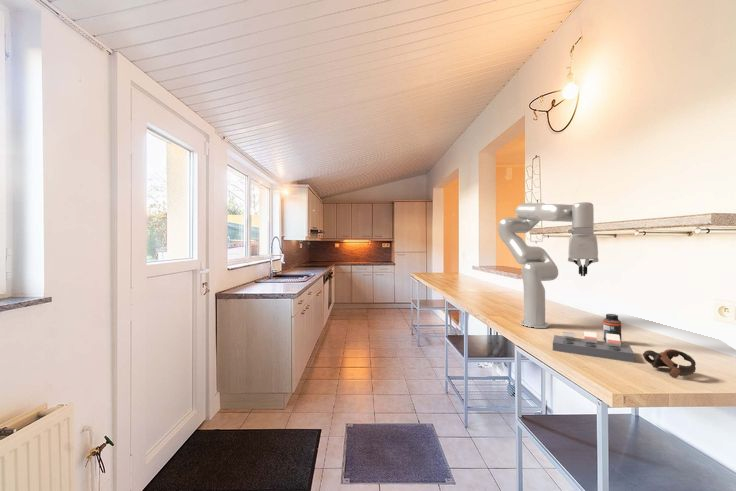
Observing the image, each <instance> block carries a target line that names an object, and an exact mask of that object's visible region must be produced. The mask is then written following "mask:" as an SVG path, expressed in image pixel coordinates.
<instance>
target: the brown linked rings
mask: <svg viewBox="0 0 736 491" xmlns="http://www.w3.org/2000/svg"><path fill="white" fill-rule="evenodd" d="M642 356H643V358H644V360H645V361H646V362H647V363H649V364H650V365H651V366H652V367H653V368H654V369H658V368H662V367H665V368H669V369H671V370H670V372H669V373H668V374H669V376H670V377H672V378H675V379H676V378H679V376H680V377H682V376H689V375H693V374H694V373H695V372H696V370H697V368H696V361H695V359H694V358H692V356H691V355H689V354H687V353H686V352H683V351H680V350H677V349H671V348H668V349H665V350H664V351H662V352H656V351H654V350H651V349H650V350H649V349H648V350H645V351H644V352H643V353H642ZM679 356H681V357H682V359H683V360H684V361H687V362H689V363H690V365H681V364H678V363H676V362H674V361H673V360H672V359H673V358H678V357H679ZM651 357H652V358H653V359H652V358H651Z"/></svg>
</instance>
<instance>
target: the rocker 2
mask: <svg viewBox="0 0 736 491" xmlns="http://www.w3.org/2000/svg"><path fill="white" fill-rule="evenodd" d="M606 341H607V345H610V346H617V347H621V344H622V341H620V336H619V335H616V334H607V333H606Z"/></svg>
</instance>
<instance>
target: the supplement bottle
mask: <svg viewBox="0 0 736 491" xmlns="http://www.w3.org/2000/svg"><path fill="white" fill-rule="evenodd" d="M602 323H603V325H602V326H603V329H602V331H603V341H605V342H607V341H606V333H607V334H616V335H619V336H620V341H621V342H623V341H622V340H623V338H622V322H621V320H619V315H618V314H616V313H615V314H614V313H606V314H605V318H604V319H603V322H602Z"/></svg>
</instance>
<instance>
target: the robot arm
mask: <svg viewBox="0 0 736 491" xmlns="http://www.w3.org/2000/svg"><path fill="white" fill-rule="evenodd" d="M594 210H595V209H594V203H592V202H583V201H582V202H577V203H573V204H563V203H562V204H561V203H560V204H559V203H550V204H549V203H544V202H542V203H541V202H537V203H536V202H535V203H531V202H530V203H529V202H528V203H527V202H525V203H520V204H519V205H517V207H516V208H515V210H514V213H515V216H516V217H510V216H509V217H505V218H502V219H501V220H500V221H498V224H497V232H498V236H499V237H500V239H501V241H502V242H503V243H504V245H506V247H507V249H508V250H509V252H510V253H511V254H512V256H513V258H514V259H515V260H516V262H517V263H518V264H520V265H522V267H521V269H520V270H521V277H522V282H523V320H522V321H520V325H521V326H523V325H524V326H523V327H526V326H528V327H527V328H531V327H534V328H533V329H548V328H549V327H550V324H549V323H548V322H546V288H545V285H544V284H543V283H542V282H548V281H549V282H550V281H554V280H556V279H557V278H558V276H559V269H558V266H557V265H556V263H555V262H554V261H553V259H552V257H550V255H549V254H548V252H547V251H546V250H545V249H544V248H542V247H540V246H531V245H527V243H526V242H525V240H523V238H522V237H521V236H519V235H518V234H527V233H528V232H531V231H532V230H533V228H534V227H536V225H538V224H539V223H540V222H543V221H544V222H561V223H562V222H564V223H565V222H567V223H568V222H569V223H571V229H568V230H567V232H568V234H571V235H570V236H569V239H568V250H567V252H568V259H567V261H568V262H571V263H574V264H576V265H577V266H578V275H580V277H586V275H588V266H590V265H591V264H593V263H598V262H599V261H600V260H599V247H598V238H597V235H595V234H594V232H595V230H594V228H595V227H594V225H595V223H594ZM581 260H584V264H582V262H581Z"/></svg>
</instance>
